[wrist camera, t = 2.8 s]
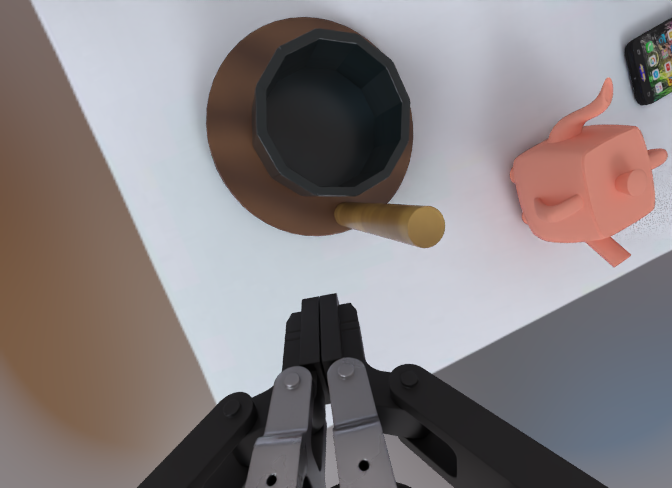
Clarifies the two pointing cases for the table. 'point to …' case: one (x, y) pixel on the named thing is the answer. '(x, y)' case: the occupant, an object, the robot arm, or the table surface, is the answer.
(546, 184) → the teapot
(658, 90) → the smartphone
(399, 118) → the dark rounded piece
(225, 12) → the table surface
